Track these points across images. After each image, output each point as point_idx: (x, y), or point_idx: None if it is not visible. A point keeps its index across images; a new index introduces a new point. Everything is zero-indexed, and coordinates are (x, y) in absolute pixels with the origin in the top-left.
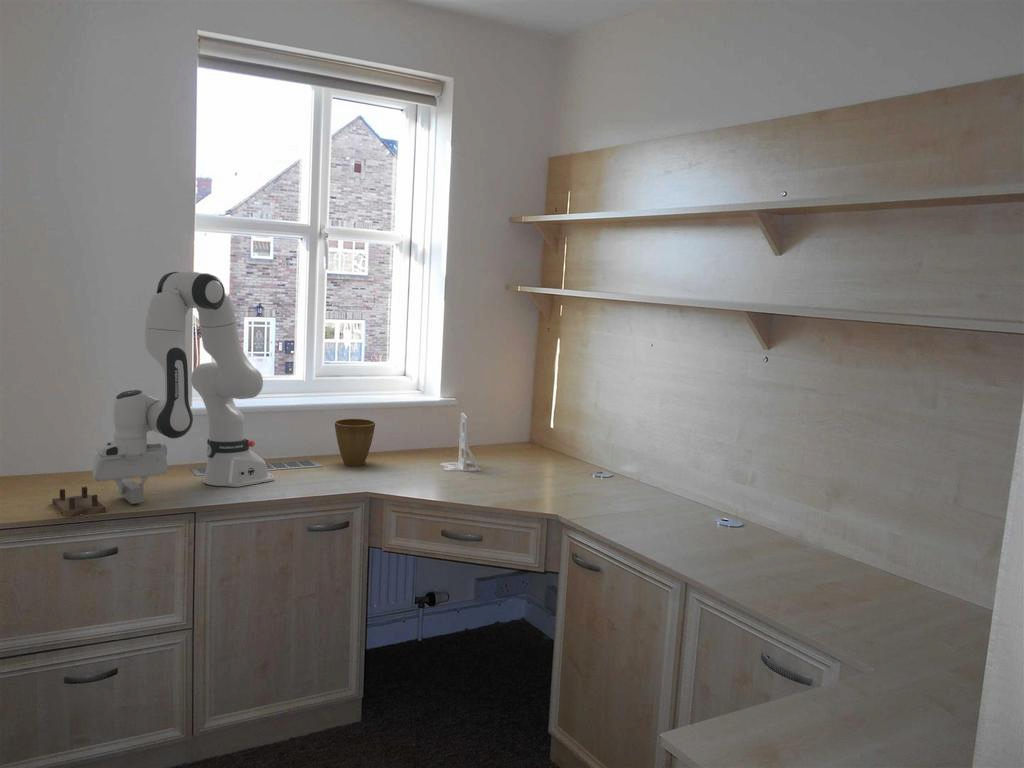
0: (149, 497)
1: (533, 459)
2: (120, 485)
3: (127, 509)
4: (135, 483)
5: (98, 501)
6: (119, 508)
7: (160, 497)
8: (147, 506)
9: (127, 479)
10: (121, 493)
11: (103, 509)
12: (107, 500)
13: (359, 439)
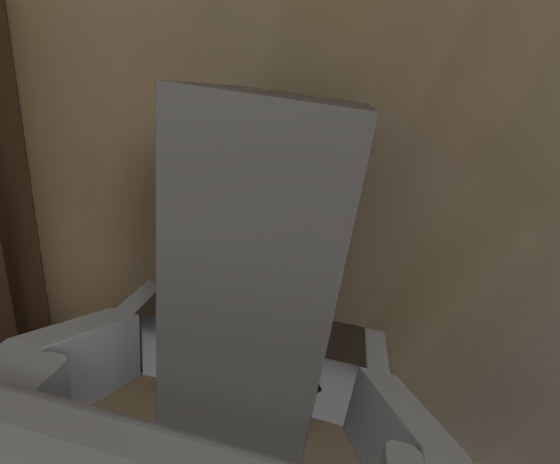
0: (471, 255)
1: None
2: (94, 395)
3: None
4: (281, 422)
5: (7, 285)
6: (147, 382)
7: (546, 316)
8: (307, 451)
9: (295, 121)
10: None
11: None
12: (129, 125)
13: None
